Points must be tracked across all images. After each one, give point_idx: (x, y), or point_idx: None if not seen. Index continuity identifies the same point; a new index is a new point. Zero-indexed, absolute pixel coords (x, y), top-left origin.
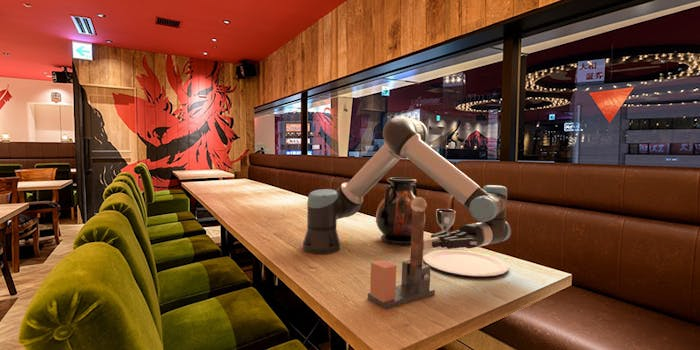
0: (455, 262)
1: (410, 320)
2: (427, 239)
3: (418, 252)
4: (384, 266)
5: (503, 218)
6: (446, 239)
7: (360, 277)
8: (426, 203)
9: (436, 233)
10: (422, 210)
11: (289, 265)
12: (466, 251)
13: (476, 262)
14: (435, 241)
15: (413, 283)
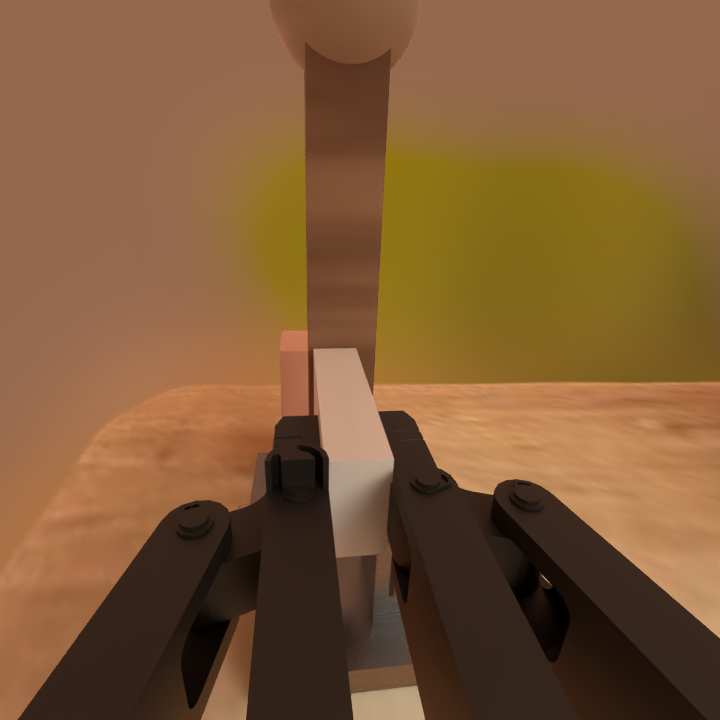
0: None
1: (170, 472)
2: (337, 373)
3: (308, 396)
4: (297, 334)
5: None
6: (264, 537)
7: (578, 503)
8: None
9: (679, 617)
10: (287, 49)
11: (680, 397)
12: None
13: None
14: (309, 436)
15: (369, 593)
